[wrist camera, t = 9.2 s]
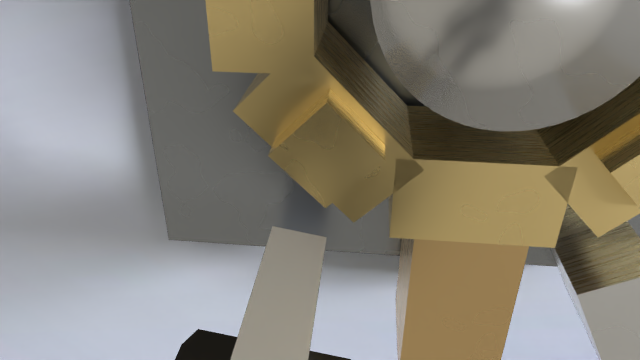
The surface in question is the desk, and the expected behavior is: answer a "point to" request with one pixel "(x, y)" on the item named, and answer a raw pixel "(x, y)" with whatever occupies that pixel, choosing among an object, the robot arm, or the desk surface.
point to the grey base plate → (414, 90)
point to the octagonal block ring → (425, 170)
